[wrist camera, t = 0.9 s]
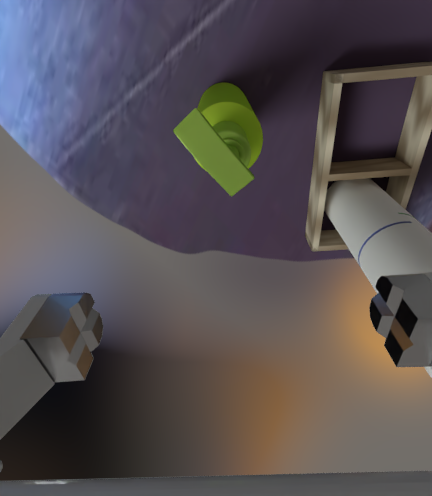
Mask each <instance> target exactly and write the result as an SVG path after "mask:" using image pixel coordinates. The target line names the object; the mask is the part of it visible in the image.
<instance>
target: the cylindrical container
mask: <svg viewBox="0 0 432 496" xmlns="http://www.w3.org/2000/svg"><path fill="white" fill-rule="evenodd" d="M324 211H325V212H326V214H327V216H328V217H329V219H330V220H331V222H332V223H333V225H334V227H335V228H336V230H337V231H338V233H339V234H340V236H341V237H342V239H343V241H344V242H345V244H346V245H347V247H348V248H349V250H350V252H351V253H352V255H353V256H354V258H355V259H356V261H357V263H358V264H359V266H360V267H361V269H362V270H363V272H364V273H365V275H366V277H367V278H368V280H369V281H370V283H371V284H372V286H373V288H374V289H375V291H376V292H377V294H378V293H379V292H378V290H377V289H376V287H375V286H376V283H377V280H378V279H379V278H380V277H381V276H387V275H402V274H419V273H428V272H432V233H431V232H430V231H429V230H428V229H427V228H425V227H424V226H423V225H422V224H421V223H420V222H419V221H417V220H416V219H415V218H414V217H413V216H412V215H411V214H410V213H408V212H407V211H406V210H405V209H404V208H403V207H402V206H401V205H399V204H398V203H397V202H396V201H395V200H394V199H393V198H392V197H390V196H389V195H388V194H387V193H386V192H385V191H384V190H383V189H381V188H380V187H379V186H378V185H377V184H376V183H375V182H374V181H372V180H371V179H370V178H365V179H351V180H338V181H336V182H334V183H333V184H332V185H331V186H330V187H329V189H328V190H327V193H326V199H325V206H324ZM425 369H426V370H427V372H428V374H429V375H430V376H431V377H432V369H431V367H425Z"/></svg>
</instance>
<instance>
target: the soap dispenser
mask: <svg viewBox="0 0 432 496" xmlns="http://www.w3.org/2000/svg"><path fill="white" fill-rule="evenodd" d="M173 132H174V133H175V134H176V136H177V137H178V138H179V139H180V141H181V142H182V143H183V144H184V146H185V147H186V148H187V149H188V150H189V152H190V153H191V154H192V155H193V156H194V158H195V160H196V161H197V163H198V164H199V165H200V166H201V167H202V168H203V169H204V170H206V171H207V172H208V173H209V174H210V175H211V176H212V177H213V178H214V179H215V180H216V181H217V182H218V183H219V184H220V185H221V186H222V187H223V188H224V189H225V190H226V191H227V192H228V193H229V194H230V195H231V196H233V195H234V194H235V193H237V192H238V191H239V190H240V189H242V188H243V187H244V186H246V185H247V184H248V183H249V182H251V181H252V180H253V179H254V175H253V174H252V173H251V171H250V170H249V169H248V168H250V167H251V166H252V165H253V164H254V162H255V161H256V160H257V158H258V156H259V154H260V151H261V148H262V143H263V134H262V129H261V125H260V123H259V121H258V119H257V117H256V115H255V113H254V111H253V110H252V108H251V106H250V104H249V102H248V100H247V98H246V96H245V95H244V93H243V92H242V91H241V90H240V89H239V88H238V87H237V86H235V85H233V84H230V83H217V84H215V85H213V86H211V87H209V88H208V89H207V90H206V91H205V92H204V94H203V95H202V97H201V99H200V102H199V105H198V109H196V108H195V109H194V110H193V111H192V112H191V113H190V114H189V115H188V116H187V117H186V118H185V119H184V120H183V121H182V122H181V123H180V124H179V125H178V126H177V127H176V128H175V129H174V130H173Z"/></svg>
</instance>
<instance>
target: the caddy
mask: <svg viewBox="0 0 432 496" xmlns="http://www.w3.org/2000/svg"><path fill="white" fill-rule="evenodd" d="M415 76H417V78H416V81H415V85H414V89H413V92H412V96H411V100H410V104H409V107H408V111H407V115H406V118H405V122H404V126H403V129H402V133H401V137H400V141H399V144H398V148H397V152H396V155H395V158H383V159H370V160H357V161H344V162H331V158H332V151H333V145H334V138H335V131H336V124H337V117H338V110H339V103H340V97H341V90H342V83H349V82H360V81H371V80H382V79H393V78H404V77H415ZM431 130H432V62H419V63H408V64H397V65H386V66H375V67H365V68H354V69H343V70H332V71H323V79H322V88H321V97H320V106H319V115H318V124H317V133H316V142H315V151H314V160H313V169H312V178H311V187H310V196H309V206H308V215H307V224H306V233H305V237H306V239H307V241H308V243H309V246H310V248H311V250H312V251H327V250H343V249H349V248H348V247H347V245H346V244H345V242H344V241H343V239H342V237H341V236H340V234H339V233H338V231H337V230H321V227H322V220H323V213H324V206H325V199H326V193H327V186H328V181H338V180H351V179H365V178H378V177H390V178H389V181H388V185H387V189H386V193H387V194H388V195H389V196H390V197H392V198H393V199H394V200H395V201H396V202H397V203H398V204H399V205H401V206H402V207H403V208H404V209H405V210H406V207H407V204H408V201H409V198H410V195H411V191H412V188H413V185H414V182H415V179H416V176H417V173H418V170H419V167H420V164H421V161H422V158H423V154H424V151H425V148H426V145H427V142H428V139H429V136H430V133H431Z"/></svg>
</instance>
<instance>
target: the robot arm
mask: <svg viewBox="0 0 432 496" xmlns="http://www.w3.org/2000/svg"><path fill="white" fill-rule="evenodd" d="M375 287H376V289H377V290H378V292H379V293H378V294H377V295H375V297H373V298H372V300H371V303H370V318H371V321H372V323H373V326H374V328H375V329H376V331H377V332H378V333H379V334H381V335H382V336H384V337H385V338H386V341H385V344H384V346H385V348H386V349H387V351H388V353H389V355H390V356H391V358H392V360H393V362H394V363H395V365H396V367H431V369H432V272H428V273H419V274H402V275H387V276H381V277H380V278H379V279H378V280H377V283H376V286H375ZM93 305H94V300H93V298H92V296H91V294H89V293H62V294H41V295H35V296H33V297H31V298H30V300H29V301H28V302H27V304H26V305H25V306H24V308H23V309H22V310H21V312H20V313H19V314H18V315H17V317H16V318H15V320H14V321H13V322H12V324H11V325H10V326H9V327H8V329H7V330H6V331H5V333H4V334H3V335H2V337H1V338H0V439H1V438H2V437H3V436H4V435H5V434H6V433H7V432H8V431H9V430H10V429H11V428H12V427H13V426H14V425H15V424H16V423H17V422H18V421H19V420H20V419H21V418H22V417H23V416H24V415H25V414H26V412H28V411H29V410H30V409H31V407H33V405H35V403H36V402H37V401H38V400H39V399H40V398H41V397H42V396H43V395H44V394H45V393H46V392H47V391H48V390H49V389H50V388H51V387H52V386H53V385H54V382H64V381H78V380H85V378H86V376H87V373H88V371H89V368H90V366H91V363H92V360H93V356H92V354H91V351H92V350H93V349H95V348H96V347H97V346H98V345H99V343H100V340H101V338H102V331H103V323H102V318H101V316H100V313H98V312H97V311H96V310H94V309H93V308H92V307H93ZM2 468H3V466H2V462H1V460H0V472H1V470H2ZM0 496H432V471H400V472H361V473H360V472H357V473H317V474H276V475H233V476H192V477H152V478H110V479H70V480H31V481H30V480H29V481H0Z"/></svg>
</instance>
